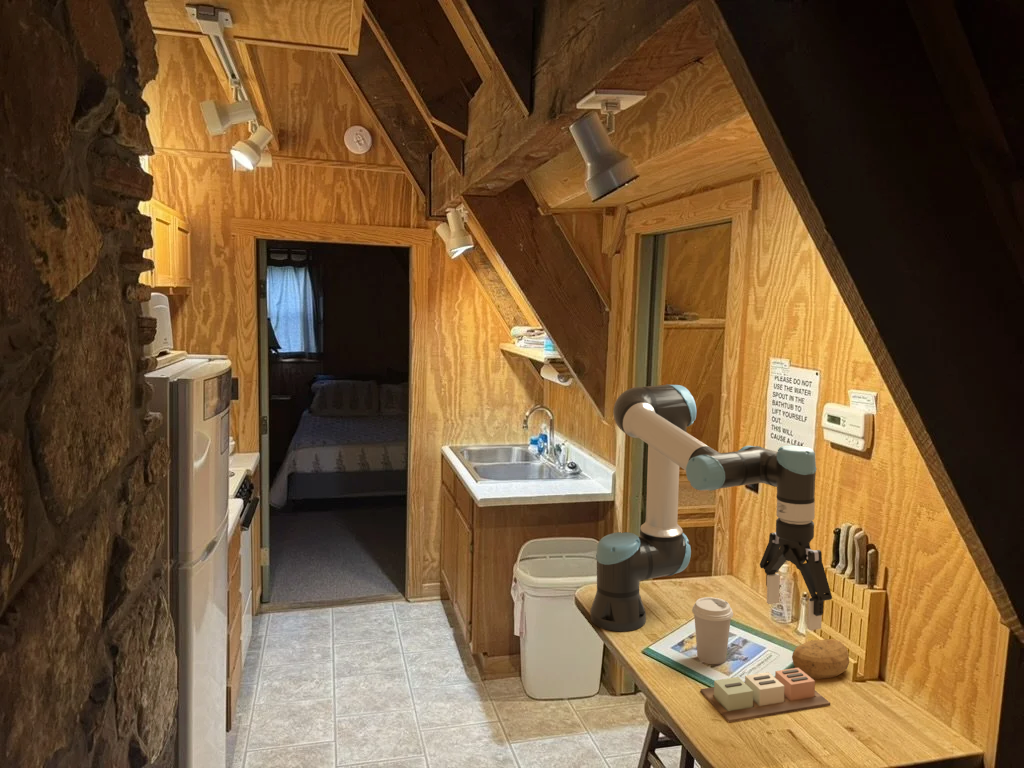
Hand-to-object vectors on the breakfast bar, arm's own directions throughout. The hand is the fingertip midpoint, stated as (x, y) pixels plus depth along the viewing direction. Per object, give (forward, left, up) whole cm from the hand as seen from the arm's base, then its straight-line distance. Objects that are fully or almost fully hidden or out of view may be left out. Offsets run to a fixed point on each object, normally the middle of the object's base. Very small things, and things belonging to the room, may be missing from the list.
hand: (792, 615), depth 153 cm
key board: (-1, -6, -20) cm, 21 cm away
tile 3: (-1, +2, -19) cm, 19 cm away
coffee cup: (-20, -8, -20) cm, 29 cm away
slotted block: (-1, -13, -19) cm, 23 cm away
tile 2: (-1, -6, -19) cm, 19 cm away
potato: (-8, +13, -20) cm, 25 cm away
